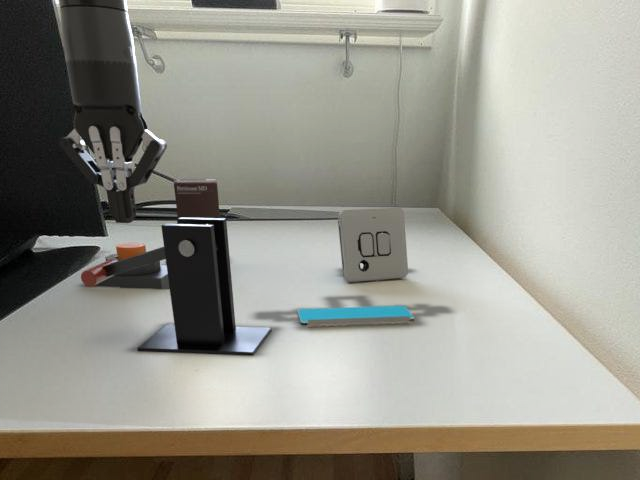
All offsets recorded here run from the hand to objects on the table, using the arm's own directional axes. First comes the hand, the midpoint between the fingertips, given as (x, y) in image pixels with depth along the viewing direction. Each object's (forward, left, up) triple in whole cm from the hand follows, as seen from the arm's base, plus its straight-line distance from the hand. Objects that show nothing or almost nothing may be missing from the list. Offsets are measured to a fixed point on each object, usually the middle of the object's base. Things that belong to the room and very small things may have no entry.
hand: (124, 222), depth 83 cm
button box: (0, 0, -8) cm, 8 cm away
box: (+5, +13, -8) cm, 16 cm away
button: (0, 0, -5) cm, 5 cm away
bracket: (+17, -24, -8) cm, 30 cm away
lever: (+13, -24, -1) cm, 27 cm away
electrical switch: (+30, +10, -8) cm, 33 cm away
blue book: (+30, -12, -8) cm, 34 cm away
